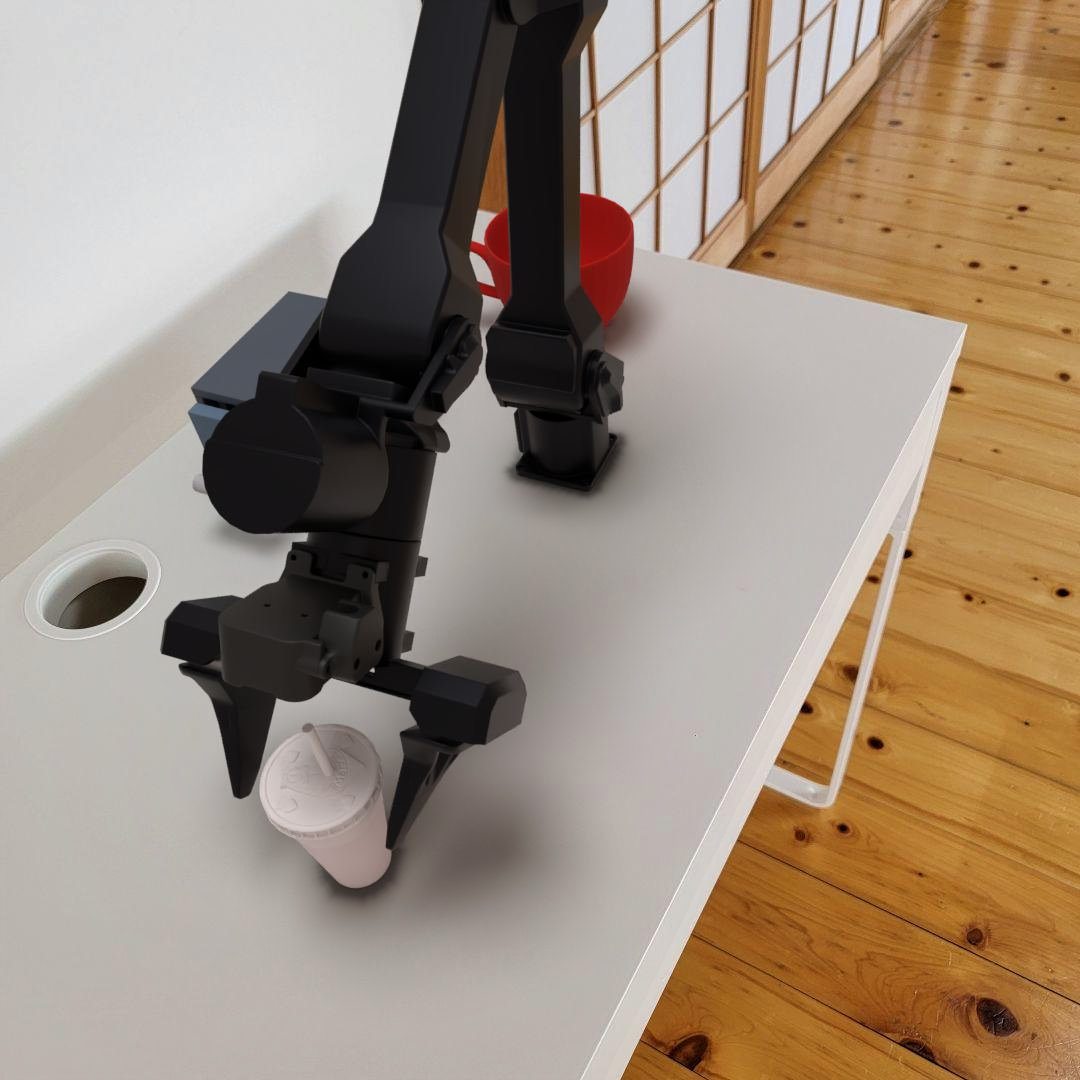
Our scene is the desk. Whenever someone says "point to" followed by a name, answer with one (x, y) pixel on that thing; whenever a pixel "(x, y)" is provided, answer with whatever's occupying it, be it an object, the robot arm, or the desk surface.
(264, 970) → the desk surface
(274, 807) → the smoothie
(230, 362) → the dispenser
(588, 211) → the ceramic cup
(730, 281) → the desk surface
